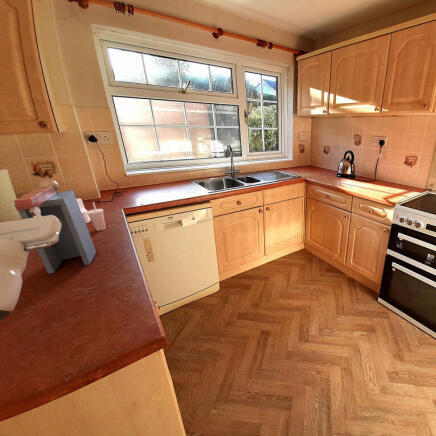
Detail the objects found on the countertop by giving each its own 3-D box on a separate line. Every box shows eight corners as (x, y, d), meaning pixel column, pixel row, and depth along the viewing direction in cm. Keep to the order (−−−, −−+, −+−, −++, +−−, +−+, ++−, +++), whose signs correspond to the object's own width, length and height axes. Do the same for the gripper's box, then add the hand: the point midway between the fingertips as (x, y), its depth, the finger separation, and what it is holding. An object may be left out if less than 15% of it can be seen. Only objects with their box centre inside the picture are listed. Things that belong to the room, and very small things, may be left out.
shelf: (89, 265, 90) (63, 198, 81) (47, 274, 85) (13, 204, 76) (96, 251, 100) (73, 190, 91) (59, 258, 95) (30, 195, 86)
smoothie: (111, 228, 122) (102, 201, 117) (96, 232, 117) (86, 205, 112) (105, 225, 126) (96, 199, 120) (91, 230, 121) (81, 203, 116)
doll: (37, 208, 72) (30, 191, 70) (15, 211, 70) (6, 194, 68) (63, 190, 91) (57, 177, 89) (45, 192, 89) (39, 178, 87)
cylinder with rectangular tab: (81, 225, 127) (73, 203, 122) (64, 226, 127) (55, 204, 122) (94, 219, 135) (87, 198, 130) (78, 219, 135) (70, 198, 130)
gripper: (50, 237, 58) (56, 197, 66) (-79, 260, 50) (-55, 211, 57) (63, 251, 63) (68, 212, 70) (-53, 274, 55) (-34, 227, 62)
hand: (12, 212), depth 64 cm, fingers open, 8 cm apart
